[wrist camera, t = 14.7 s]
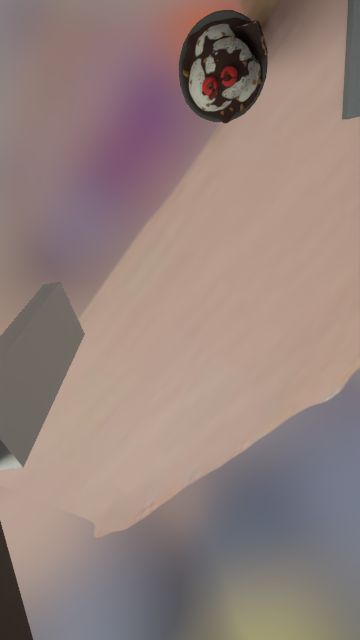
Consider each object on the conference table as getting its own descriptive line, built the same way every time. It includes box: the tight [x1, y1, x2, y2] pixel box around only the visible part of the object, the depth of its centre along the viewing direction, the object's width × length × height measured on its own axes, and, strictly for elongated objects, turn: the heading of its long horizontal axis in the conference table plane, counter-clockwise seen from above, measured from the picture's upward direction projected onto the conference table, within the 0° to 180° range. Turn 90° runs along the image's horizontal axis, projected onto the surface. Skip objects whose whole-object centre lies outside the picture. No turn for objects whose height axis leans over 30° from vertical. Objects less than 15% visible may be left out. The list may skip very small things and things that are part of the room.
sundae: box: [179, 10, 268, 123], centre depth 26 cm, size 7×7×15 cm
